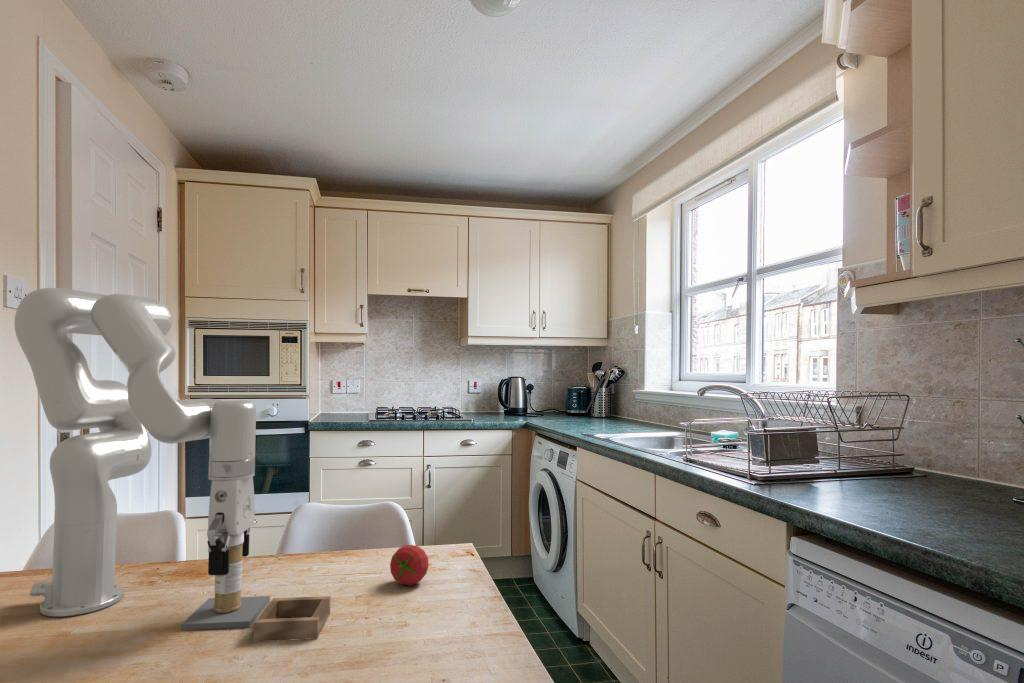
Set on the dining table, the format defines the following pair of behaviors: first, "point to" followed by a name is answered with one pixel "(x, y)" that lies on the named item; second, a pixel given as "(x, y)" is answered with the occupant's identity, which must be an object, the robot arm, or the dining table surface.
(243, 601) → the mat
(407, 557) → the tomato
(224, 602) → the spice jar
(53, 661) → the dining table surface
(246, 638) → the dining table surface
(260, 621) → the brown wooden square tray
